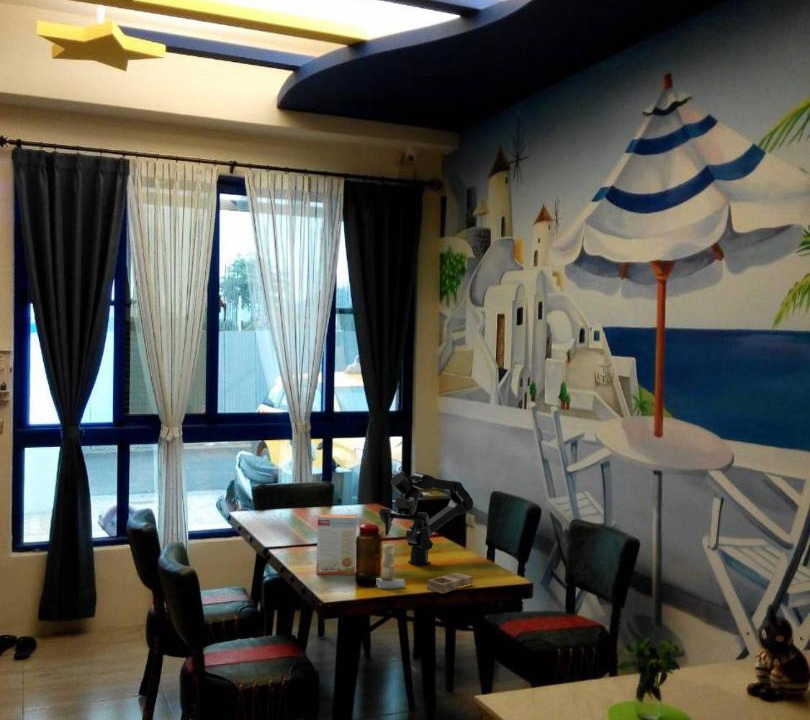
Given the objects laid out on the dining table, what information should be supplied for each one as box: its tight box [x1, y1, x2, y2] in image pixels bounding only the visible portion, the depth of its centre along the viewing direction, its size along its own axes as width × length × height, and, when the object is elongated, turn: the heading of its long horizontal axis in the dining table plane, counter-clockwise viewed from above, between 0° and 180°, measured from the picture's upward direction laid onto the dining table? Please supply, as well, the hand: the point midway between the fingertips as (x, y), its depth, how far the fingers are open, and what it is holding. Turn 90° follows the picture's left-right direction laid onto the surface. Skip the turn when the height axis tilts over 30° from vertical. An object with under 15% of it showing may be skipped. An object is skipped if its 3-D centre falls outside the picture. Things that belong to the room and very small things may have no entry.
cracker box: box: [315, 513, 358, 576], centre depth 310 cm, size 14×6×21 cm, turn 92°
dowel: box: [381, 543, 396, 581], centre depth 297 cm, size 4×4×14 cm
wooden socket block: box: [426, 572, 473, 594], centre depth 298 cm, size 16×7×3 cm, turn 137°
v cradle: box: [375, 577, 406, 590], centre depth 296 cm, size 7×12×2 cm, turn 70°
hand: (397, 536), depth 312 cm, fingers open, 9 cm apart
